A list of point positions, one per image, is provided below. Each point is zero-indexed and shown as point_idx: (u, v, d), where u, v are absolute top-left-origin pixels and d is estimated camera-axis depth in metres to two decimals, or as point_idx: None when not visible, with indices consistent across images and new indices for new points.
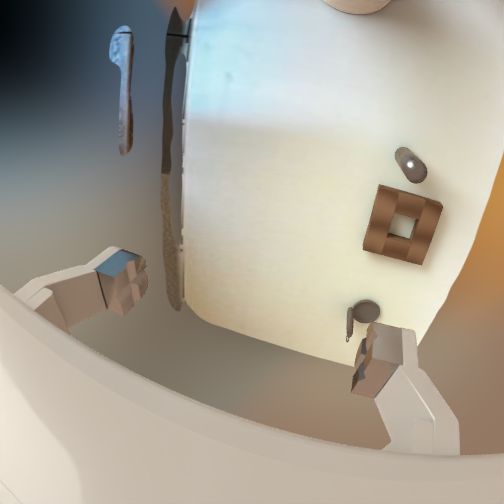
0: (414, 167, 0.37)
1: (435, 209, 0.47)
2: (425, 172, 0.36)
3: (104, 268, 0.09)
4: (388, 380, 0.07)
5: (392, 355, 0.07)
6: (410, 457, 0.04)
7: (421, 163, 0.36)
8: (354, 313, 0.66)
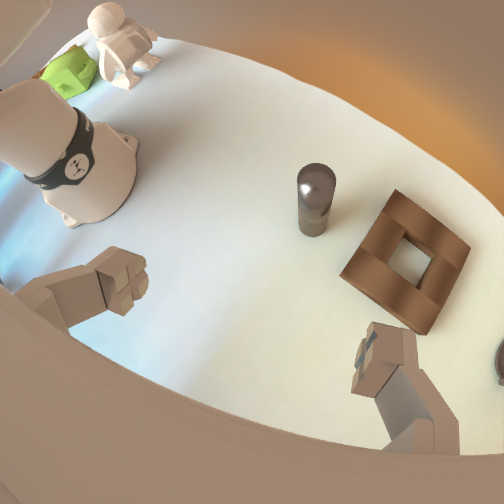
0: (309, 180, 0.26)
1: (397, 201, 0.33)
2: (322, 166, 0.26)
3: (104, 267, 0.09)
4: (388, 380, 0.07)
5: (392, 355, 0.07)
6: (410, 457, 0.04)
7: (306, 167, 0.26)
8: None
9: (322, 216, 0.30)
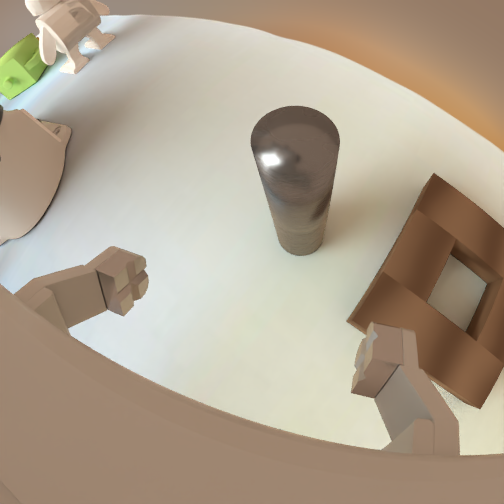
0: (277, 139, 0.11)
1: (438, 192, 0.19)
2: (306, 112, 0.11)
3: (104, 267, 0.09)
4: (388, 380, 0.07)
5: (392, 355, 0.07)
6: (410, 457, 0.04)
7: (271, 115, 0.11)
8: None
9: (314, 220, 0.15)
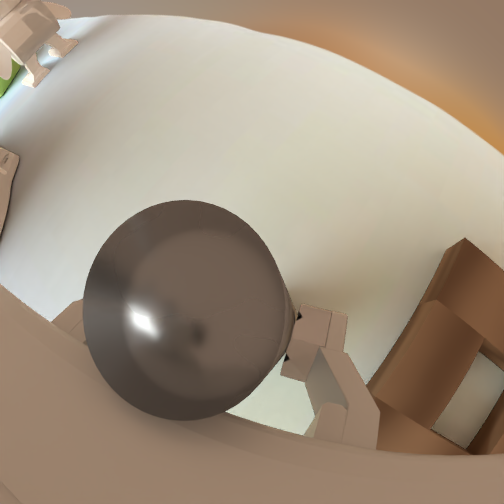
0: (128, 307, 0.04)
1: (469, 268, 0.12)
2: (208, 221, 0.05)
3: None
4: (313, 363, 0.08)
5: (314, 336, 0.08)
6: (410, 457, 0.04)
7: (127, 232, 0.05)
8: None
9: None
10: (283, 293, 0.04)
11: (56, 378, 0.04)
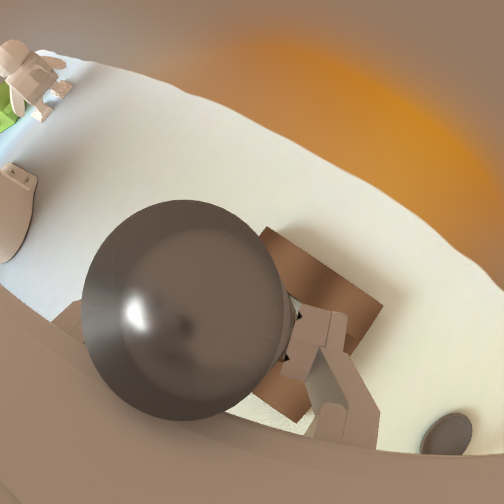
0: (127, 307, 0.04)
1: (266, 243, 0.27)
2: (206, 221, 0.05)
3: None
4: (313, 363, 0.08)
5: (314, 336, 0.08)
6: (410, 457, 0.04)
7: (125, 232, 0.05)
8: None
9: None
10: (282, 293, 0.04)
11: (56, 378, 0.04)
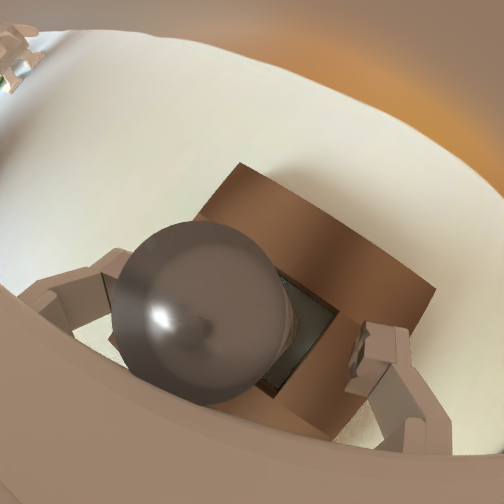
0: (154, 311, 0.05)
1: (238, 187, 0.16)
2: (221, 239, 0.06)
3: (109, 269, 0.09)
4: (381, 378, 0.07)
5: (385, 353, 0.07)
6: (410, 457, 0.04)
7: (151, 247, 0.06)
8: None
9: None
10: (284, 299, 0.05)
11: (56, 378, 0.04)
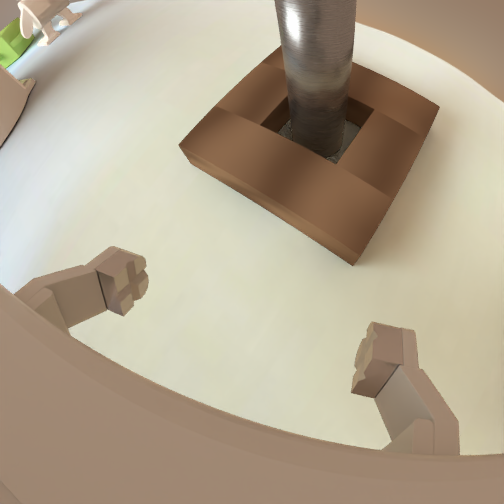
0: None
1: None
2: None
3: (104, 268, 0.09)
4: (388, 380, 0.07)
5: (392, 355, 0.07)
6: (410, 457, 0.04)
7: None
8: None
9: (336, 84, 0.12)
10: None
11: (56, 378, 0.04)
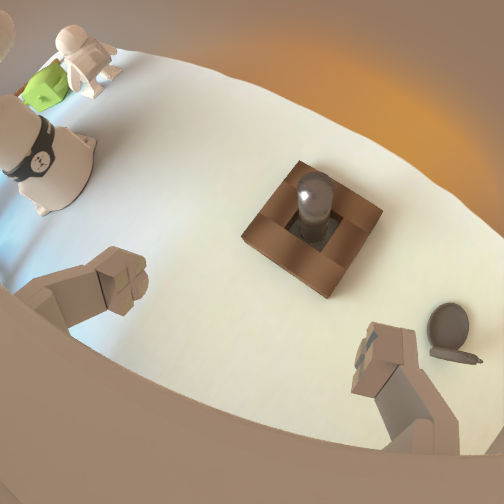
0: (308, 187, 0.27)
1: (299, 170, 0.38)
2: (320, 174, 0.27)
3: (104, 267, 0.09)
4: (388, 380, 0.07)
5: (392, 355, 0.07)
6: (410, 457, 0.04)
7: (305, 176, 0.27)
8: None
9: (322, 222, 0.31)
10: (333, 185, 0.27)
11: (56, 378, 0.04)
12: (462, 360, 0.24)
